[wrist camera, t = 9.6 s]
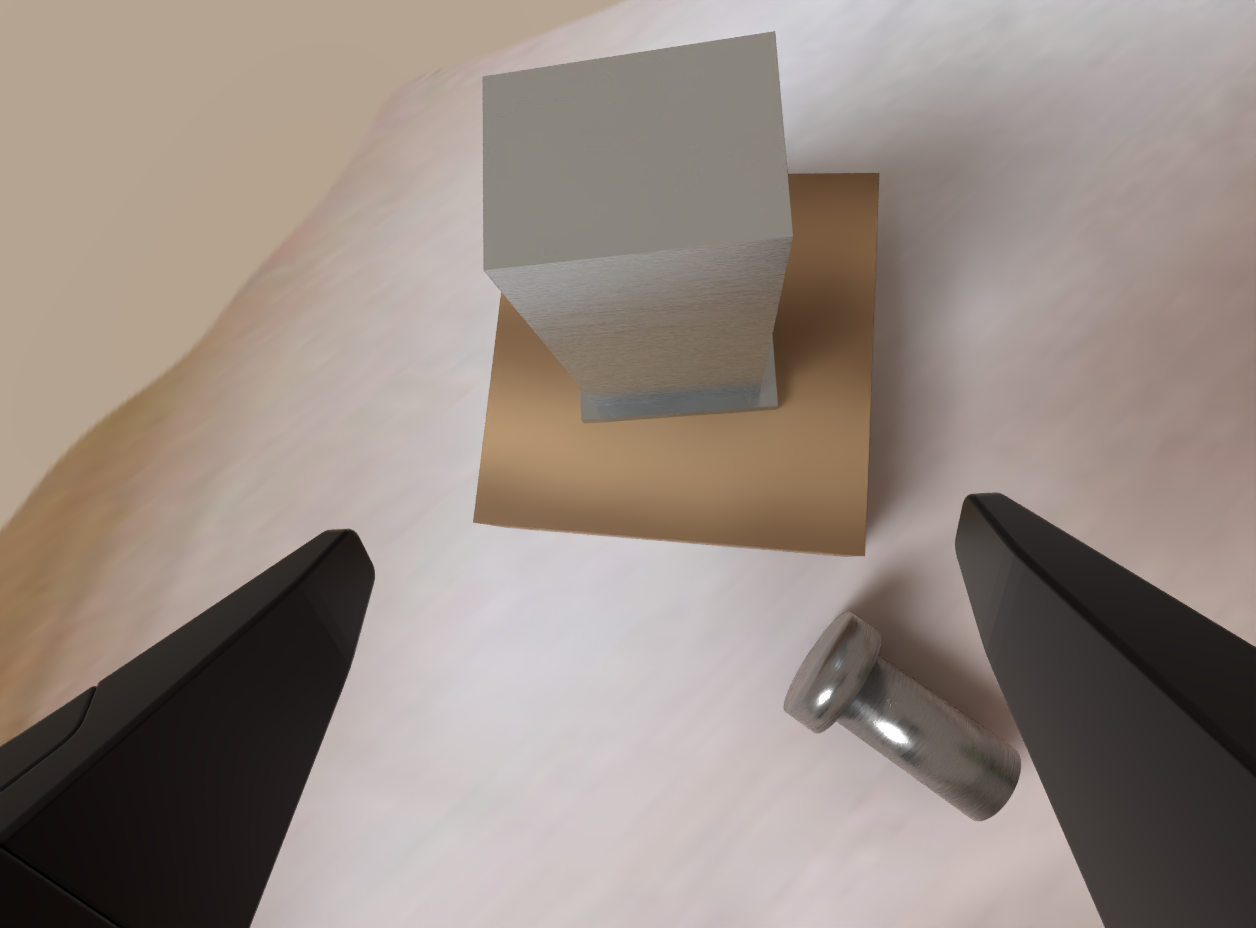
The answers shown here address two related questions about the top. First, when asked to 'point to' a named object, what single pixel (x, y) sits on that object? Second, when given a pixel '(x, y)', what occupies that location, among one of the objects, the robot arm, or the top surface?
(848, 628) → the bolt
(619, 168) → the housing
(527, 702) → the top surface
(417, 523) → the top surface
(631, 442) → the stand
